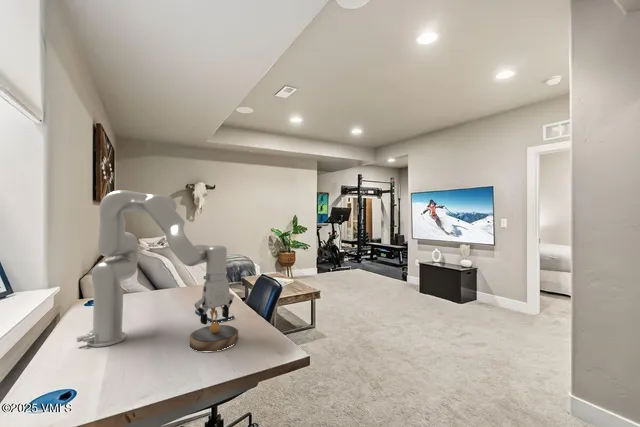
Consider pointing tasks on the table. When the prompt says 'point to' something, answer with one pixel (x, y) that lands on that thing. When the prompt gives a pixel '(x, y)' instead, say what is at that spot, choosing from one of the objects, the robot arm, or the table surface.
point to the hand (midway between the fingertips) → (214, 320)
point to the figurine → (215, 326)
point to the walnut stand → (213, 338)
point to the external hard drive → (219, 317)
